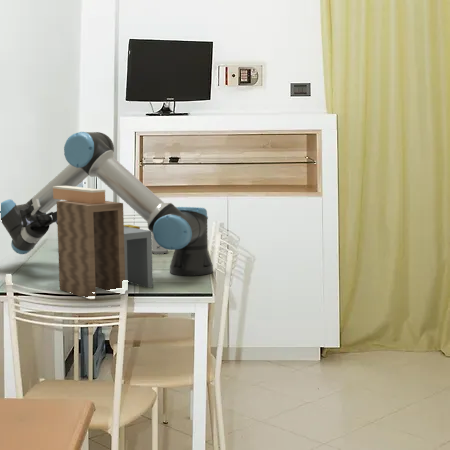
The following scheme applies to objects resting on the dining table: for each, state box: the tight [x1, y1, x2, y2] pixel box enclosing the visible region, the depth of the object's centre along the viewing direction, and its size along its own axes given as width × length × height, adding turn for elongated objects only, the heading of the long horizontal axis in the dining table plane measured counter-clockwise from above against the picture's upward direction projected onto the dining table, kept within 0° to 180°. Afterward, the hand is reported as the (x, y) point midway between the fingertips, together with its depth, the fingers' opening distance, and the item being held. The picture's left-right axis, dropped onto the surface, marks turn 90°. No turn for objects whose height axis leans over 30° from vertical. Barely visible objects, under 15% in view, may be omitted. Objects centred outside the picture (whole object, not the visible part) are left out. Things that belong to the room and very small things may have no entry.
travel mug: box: [152, 233, 169, 255], centre depth 309 cm, size 6×7×20 cm
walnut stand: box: [56, 200, 125, 297], centre depth 234 cm, size 20×12×28 cm, turn 39°
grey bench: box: [124, 226, 154, 288], centre depth 245 cm, size 18×11×18 cm, turn 39°
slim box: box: [53, 186, 106, 204], centre depth 237 cm, size 26×5×4 cm, turn 39°
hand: (57, 201), depth 248 cm, fingers open, 13 cm apart
